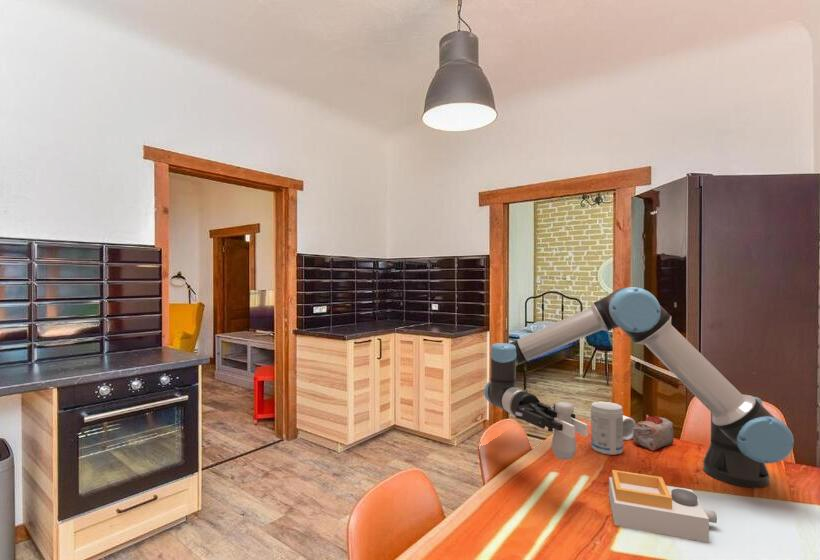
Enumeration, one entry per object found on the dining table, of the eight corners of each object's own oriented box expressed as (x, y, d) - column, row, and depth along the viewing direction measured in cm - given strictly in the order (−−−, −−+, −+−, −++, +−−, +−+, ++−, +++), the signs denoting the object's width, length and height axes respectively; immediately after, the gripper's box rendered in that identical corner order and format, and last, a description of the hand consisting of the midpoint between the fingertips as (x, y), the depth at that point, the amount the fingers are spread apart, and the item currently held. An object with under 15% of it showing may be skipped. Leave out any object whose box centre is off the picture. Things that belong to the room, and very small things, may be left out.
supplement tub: (613, 444, 146) (613, 401, 147) (629, 455, 137) (629, 409, 137) (585, 444, 146) (585, 401, 146) (599, 456, 136) (600, 409, 136)
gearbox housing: (705, 512, 103) (706, 481, 103) (725, 546, 90) (726, 509, 90) (609, 496, 110) (609, 467, 110) (614, 525, 97) (614, 491, 97)
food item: (654, 453, 139) (655, 422, 139) (630, 445, 146) (631, 416, 146) (676, 445, 147) (676, 416, 147) (652, 438, 154) (652, 410, 154)
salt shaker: (576, 453, 107) (576, 401, 107) (577, 462, 102) (577, 407, 102) (551, 450, 109) (552, 399, 109) (551, 459, 104) (551, 405, 104)
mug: (614, 430, 161) (614, 408, 161) (636, 439, 152) (636, 416, 152) (588, 433, 157) (588, 411, 157) (609, 443, 148) (609, 419, 148)
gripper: (544, 414, 125) (607, 443, 103) (496, 420, 120) (551, 451, 98) (545, 388, 125) (607, 412, 103) (496, 392, 120) (551, 418, 98)
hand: (580, 431), depth 101 cm, fingers closed on salt shaker, 3 cm apart
